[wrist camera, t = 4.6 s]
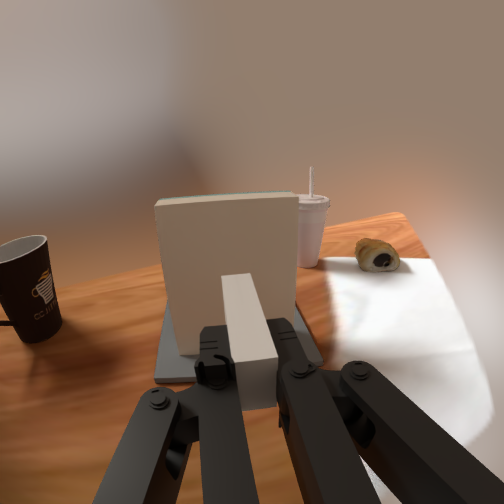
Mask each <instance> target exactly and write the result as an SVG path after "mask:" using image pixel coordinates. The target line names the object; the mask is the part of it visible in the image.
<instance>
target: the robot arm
mask: <svg viewBox="0 0 504 504" xmlns="http://www.w3.org/2000/svg"><path fill="white" fill-rule="evenodd" d="M221 279H222V290H223V301H224V311H225V321H226V325H217V326H206V327H204V328H203V329H202V331H201V333H200V357H199V358H198V359H197V360H196V361H195V365H194V370H195V374H196V379H197V382H196V383H195V384H194V385H193V386H192V387H190V388H188V389H186V390H183V391H180V392H176V393H175V392H174V391H173V390H171V389H169V388H166V387H156V388H152V389H150V390H148V391H147V392H145V393H144V394H143V395H142V397H141V398H140V400H139V402H138V404H137V406H136V408H135V411H134V413H133V415H132V417H131V419H130V421H129V423H128V425H127V427H126V429H125V432H124V434H123V436H122V438H121V440H120V442H119V444H118V447H117V449H116V451H115V453H114V455H113V458H112V460H111V462H110V464H109V466H108V469H107V471H106V473H105V475H104V478H103V480H102V482H101V484H100V487H99V489H98V491H97V494H96V496H95V498H94V501H93V503H92V504H176V500H177V497H178V493H179V490H180V486H181V482H182V479H183V475H184V471H185V468H186V464H187V461H188V457H189V453H190V450H191V446H192V443H193V442H196V441H200V460H201V475H202V489H203V501H204V504H259V500H258V495H257V490H256V485H255V480H254V475H253V470H252V465H251V460H250V454H249V449H248V444H247V438H246V433H245V427H244V421H243V415H242V411H248V410H256V409H263V408H270V407H276V406H277V402H278V405H279V428H281V427H282V429H283V432H284V436H285V439H286V443H287V446H288V450H289V453H290V457H291V460H292V464H293V467H294V470H295V474H296V477H297V481H298V484H299V487H300V491H301V494H302V497H303V501H304V504H381V502H380V500H379V497H378V495H377V493H376V491H375V489H374V486H373V484H372V482H371V480H370V478H369V476H368V473H367V471H366V469H365V467H364V465H363V463H362V460H361V458H360V456H361V457H362V459H363V460H364V461H365V462H366V463H367V464H368V466H369V467H370V468H371V469H372V470H373V471H374V473H375V474H376V475H377V476H378V477H379V478H380V479H381V481H382V482H383V483H384V484H385V485H386V486H387V487H388V488H389V490H390V491H391V492H392V493H393V494H394V495H395V496H396V497H397V498H398V499H399V501H400V502H401V503H402V504H504V483H503V482H502V481H501V480H500V479H499V478H498V477H497V476H495V475H494V474H493V473H492V472H491V471H490V470H489V469H488V468H486V467H485V466H484V465H483V464H482V463H481V462H480V461H479V460H477V459H476V458H475V457H474V456H473V455H472V454H471V453H469V452H468V451H467V450H466V449H465V448H464V447H463V446H462V445H461V444H459V443H458V442H457V441H456V440H455V439H454V438H453V437H452V436H450V435H449V434H448V433H447V432H446V431H445V430H444V429H443V428H441V427H440V426H439V425H438V424H437V423H436V422H435V421H434V420H433V419H431V418H430V417H429V416H428V415H427V414H426V413H425V412H424V411H422V410H421V409H420V408H419V407H418V406H417V405H416V404H415V403H414V402H412V401H411V400H410V399H409V398H408V397H407V396H406V395H405V394H403V393H402V392H401V391H400V390H399V389H398V388H397V387H396V386H395V385H393V384H392V383H391V382H390V381H389V380H388V379H387V378H386V377H385V376H383V375H382V374H381V373H380V372H379V371H378V370H377V369H376V368H375V367H373V366H372V365H371V364H369V363H367V362H363V361H352V362H348V363H347V364H345V365H344V366H343V368H342V370H341V371H331V370H323V369H319V368H318V367H317V366H316V365H315V364H314V363H313V362H311V361H309V360H308V358H307V356H306V354H305V352H304V350H303V348H302V345H301V343H300V341H299V339H298V337H297V334H296V332H295V330H294V328H293V326H292V324H291V323H290V322H289V321H288V320H287V319H285V318H284V317H283V318H275V319H267V320H266V319H265V316H264V313H263V310H262V307H261V304H260V301H259V298H258V295H257V292H256V290H255V287H254V284H253V281H252V277H251V274H250V273H247V274H236V275H225V276H221ZM359 455H360V456H359Z"/></svg>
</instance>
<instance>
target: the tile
mask: <svg viewBox="0 0 504 504" xmlns="http://www.w3.org/2000/svg"><path fill="white" fill-rule="evenodd" d="M154 208H155V217H156V225H157V233H158V241H159V248H160V255H161V262H162V268H163V275H164V281H165V287H166V292H167V298H168V303H169V309H170V314H171V319H172V324H173V329H174V334H175V338H176V343H177V347H178V352H179V355H196V354H200V333H201V331H202V329H203V328H204V327H206V326H217V325H226V321H225V311H224V301H223V290H222V279H221V276H225V275H236V274H247V273H250V274H251V277H252V281H253V284H254V287H255V290H256V292H257V295H258V298H259V301H260V304H261V307H262V310H263V313H264V316H265V319H266V320H267V319H275V318H283V317H284V318H285V319H287V320H288V321H289V322H290V323H291V324H292V326H293V328H294V314H295V296H296V277H297V253H298V220H299V196H297V195H295V194H294V193H292V192H291V191H267V192H247V193H228V194H212V195H199V196H187V197H175V198H164V199H159V201H158V202H157V203H156V204H155V206H154Z"/></svg>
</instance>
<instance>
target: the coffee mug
mask: <svg viewBox="0 0 504 504" xmlns="http://www.w3.org/2000/svg"><path fill="white" fill-rule="evenodd" d="M0 303H1V305H2V307H3V309H4V311H5V313H6V315H7V317H8V318H9V320H10V321H0V326H13V327H14V329H15V331H16V333H17V334H18V336H19V338H20V339H21V340H22V341H23V342H26V343H37V342H41V341H44V340H46V339H48V338H50V337H51V336H53V335H54V334H55V333H56V332H57V331H58V330H59V329H60V327H61V325H62V319H61V314H60V310H59V306H58V302H57V297H56V292H55V287H54V283H53V277H52V271H51V265H50V259H49V251H48V244H47V237H46V236H43V235H33V236H27V237H23V238H19V239H16V240H13V241H10V242H7V243H5V244H3V245H1V246H0Z"/></svg>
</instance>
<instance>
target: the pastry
mask: <svg viewBox="0 0 504 504" xmlns="http://www.w3.org/2000/svg"><path fill="white" fill-rule="evenodd" d="M355 256H356V259H357V260H358V263H359V266H360V268H361V269H362V270H364V271H366V272H381V271H392V270H395V269H396V268H397V267H398V266H399V264H400V259H399V255H398V253H397V252H396V251H395V249H394V248H393V247H392V246H391V245H390V244H389V243H386V242H384V241H381V240H375V239H369V238H364V239H361V240H360V241H358V242H357V243H356V247H355Z"/></svg>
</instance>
